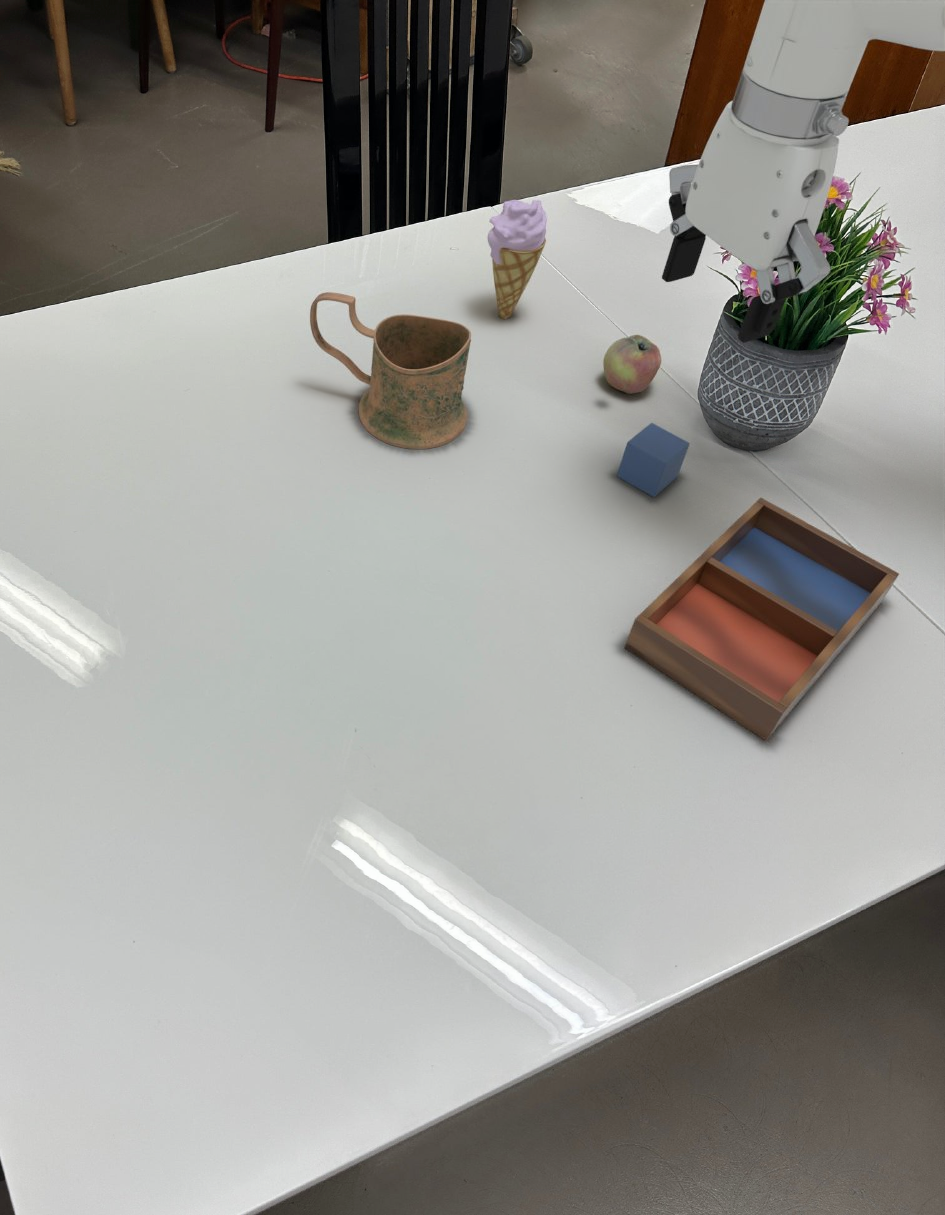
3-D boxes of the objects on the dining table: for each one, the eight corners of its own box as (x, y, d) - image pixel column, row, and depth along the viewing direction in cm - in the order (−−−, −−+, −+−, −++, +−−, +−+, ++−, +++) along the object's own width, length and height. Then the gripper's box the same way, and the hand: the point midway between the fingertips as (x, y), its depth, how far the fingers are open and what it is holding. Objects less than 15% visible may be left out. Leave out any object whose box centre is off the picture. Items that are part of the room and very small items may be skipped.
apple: (589, 400, 119) (601, 355, 114) (605, 360, 124) (618, 316, 119) (643, 415, 117) (657, 370, 113) (657, 374, 122) (672, 330, 118)
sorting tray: (747, 526, 106) (760, 496, 104) (881, 602, 100) (899, 573, 98) (623, 647, 95) (634, 618, 92) (766, 741, 89) (783, 713, 86)
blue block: (640, 456, 113) (651, 422, 109) (677, 477, 111) (690, 443, 108) (616, 476, 111) (627, 441, 107) (653, 498, 109) (666, 463, 105)
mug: (328, 357, 122) (332, 261, 113) (479, 396, 118) (496, 300, 109) (289, 417, 114) (290, 319, 105) (449, 460, 111) (464, 363, 102)
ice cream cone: (502, 338, 126) (524, 217, 115) (463, 313, 129) (481, 194, 118) (539, 317, 129) (565, 198, 118) (501, 294, 132) (522, 176, 121)
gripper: (913, 145, 76) (819, 351, 88) (744, 50, 85) (682, 247, 98) (836, 165, 73) (750, 374, 86) (670, 64, 83) (616, 265, 96)
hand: (714, 306), depth 92 cm, fingers open, 9 cm apart
